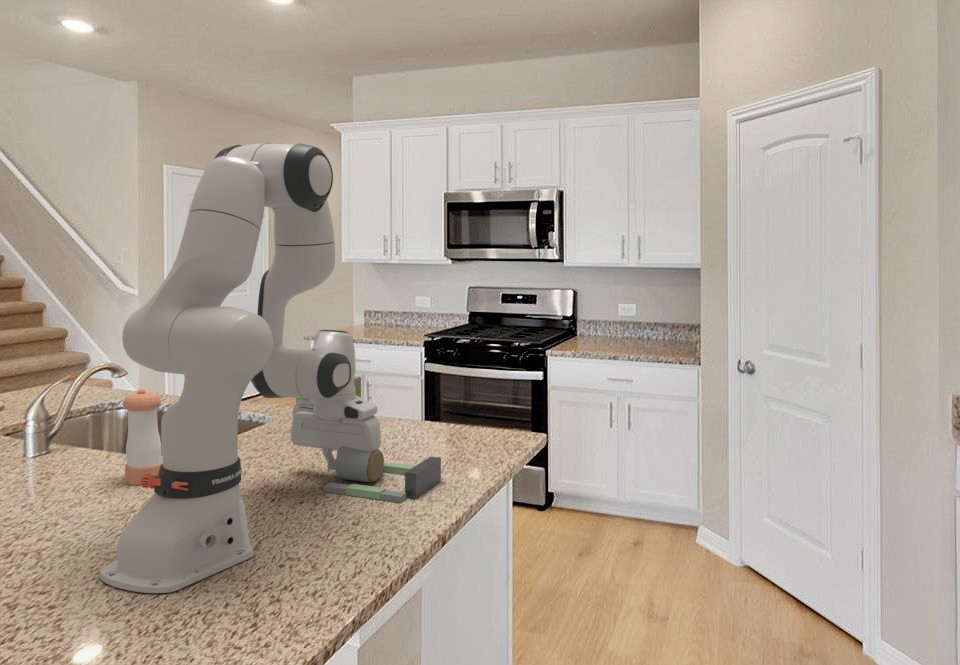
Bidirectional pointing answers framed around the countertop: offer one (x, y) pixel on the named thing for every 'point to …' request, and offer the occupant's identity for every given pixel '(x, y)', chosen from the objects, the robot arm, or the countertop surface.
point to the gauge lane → (373, 491)
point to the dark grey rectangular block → (422, 477)
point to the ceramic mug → (359, 464)
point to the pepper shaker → (142, 436)
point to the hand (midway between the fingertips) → (335, 469)
